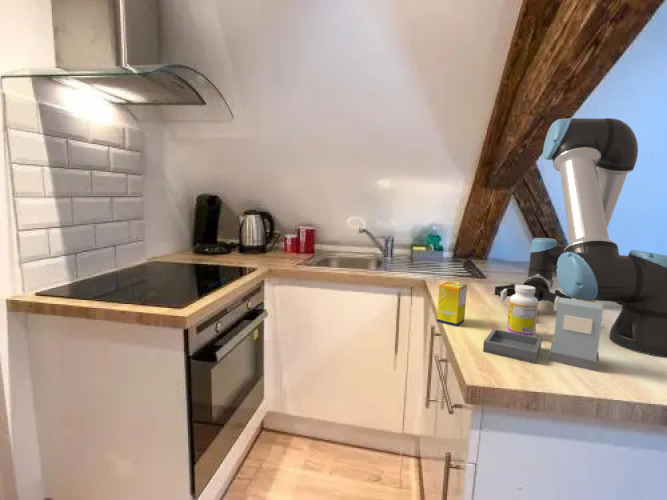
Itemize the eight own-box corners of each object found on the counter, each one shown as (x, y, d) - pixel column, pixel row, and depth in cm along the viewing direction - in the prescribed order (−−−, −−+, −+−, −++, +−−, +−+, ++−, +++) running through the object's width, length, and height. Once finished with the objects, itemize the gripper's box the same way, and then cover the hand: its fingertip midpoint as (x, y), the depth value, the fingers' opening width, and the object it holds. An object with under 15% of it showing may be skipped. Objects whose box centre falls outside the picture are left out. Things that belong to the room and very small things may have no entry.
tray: (540, 348, 91) (542, 338, 91) (535, 363, 82) (537, 352, 82) (492, 338, 97) (493, 328, 97) (483, 351, 88) (484, 341, 88)
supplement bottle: (512, 328, 105) (517, 282, 104) (538, 335, 101) (544, 287, 99) (502, 334, 101) (506, 285, 99) (528, 341, 96) (534, 291, 94)
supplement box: (444, 317, 114) (447, 280, 112) (464, 321, 110) (467, 284, 109) (436, 321, 109) (438, 283, 108) (456, 326, 105) (459, 287, 104)
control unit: (597, 360, 86) (604, 303, 84) (597, 371, 80) (606, 310, 78) (550, 350, 90) (557, 296, 89) (548, 360, 85) (555, 302, 83)
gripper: (496, 271, 132) (482, 281, 114) (583, 282, 118) (582, 295, 100) (494, 293, 133) (480, 306, 115) (580, 306, 119) (578, 323, 101)
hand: (527, 301), depth 108 cm, fingers open, 13 cm apart
